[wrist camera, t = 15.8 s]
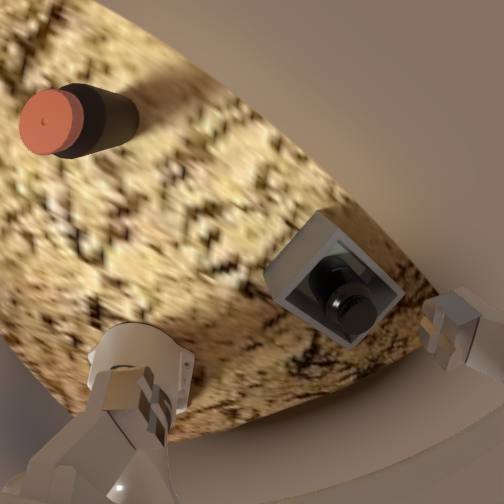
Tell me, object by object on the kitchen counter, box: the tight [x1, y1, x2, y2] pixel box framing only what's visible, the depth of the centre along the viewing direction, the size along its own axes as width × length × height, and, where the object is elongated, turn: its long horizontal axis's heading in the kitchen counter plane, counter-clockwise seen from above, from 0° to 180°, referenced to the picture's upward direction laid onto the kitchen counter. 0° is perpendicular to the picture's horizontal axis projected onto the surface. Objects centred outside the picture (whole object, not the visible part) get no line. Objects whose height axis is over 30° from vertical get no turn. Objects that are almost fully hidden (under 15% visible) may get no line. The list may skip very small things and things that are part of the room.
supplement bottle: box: [309, 257, 378, 335], centre depth 42 cm, size 7×7×12 cm
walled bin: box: [263, 210, 406, 351], centre depth 45 cm, size 16×12×8 cm
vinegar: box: [19, 83, 139, 159], centre depth 27 cm, size 7×7×20 cm
